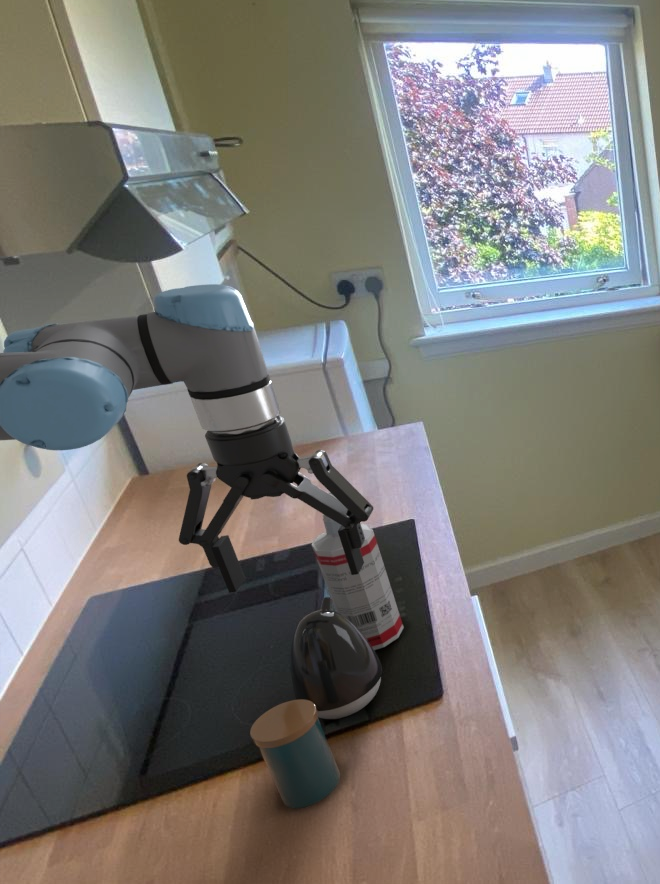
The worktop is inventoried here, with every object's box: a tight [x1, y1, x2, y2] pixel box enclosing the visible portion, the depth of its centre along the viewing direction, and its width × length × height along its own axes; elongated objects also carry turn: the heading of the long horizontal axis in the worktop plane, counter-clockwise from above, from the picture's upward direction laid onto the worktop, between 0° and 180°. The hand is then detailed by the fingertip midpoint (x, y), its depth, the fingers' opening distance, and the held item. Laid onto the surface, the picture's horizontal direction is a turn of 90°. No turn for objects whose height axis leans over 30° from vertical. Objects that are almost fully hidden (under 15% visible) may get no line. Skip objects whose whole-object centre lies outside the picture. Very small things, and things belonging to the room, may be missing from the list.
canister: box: [249, 699, 341, 809], centre depth 86 cm, size 6×6×11 cm
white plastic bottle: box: [311, 492, 405, 651], centre depth 109 cm, size 8×8×25 cm
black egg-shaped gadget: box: [290, 596, 383, 720], centre depth 98 cm, size 10×10×15 cm
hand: (298, 577), depth 92 cm, fingers open, 13 cm apart
